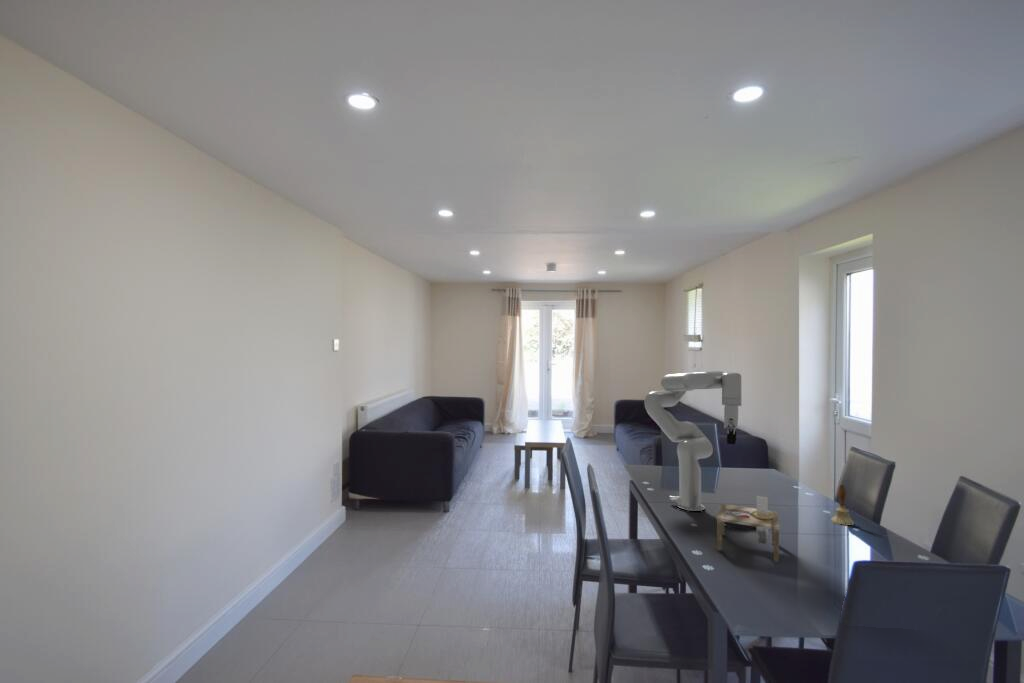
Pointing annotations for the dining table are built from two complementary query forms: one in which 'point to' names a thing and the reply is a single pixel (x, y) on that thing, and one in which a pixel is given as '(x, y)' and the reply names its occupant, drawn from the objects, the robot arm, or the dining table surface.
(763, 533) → the peg
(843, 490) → the hand bell
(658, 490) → the dining table surface
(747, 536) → the dining table surface
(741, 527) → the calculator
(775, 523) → the shelf
